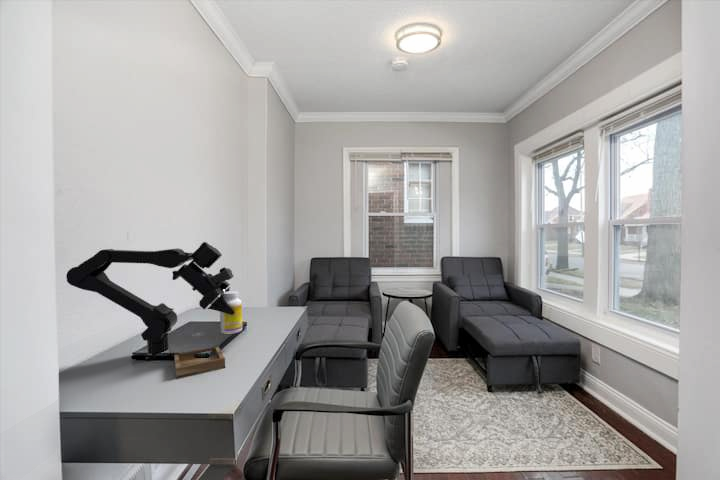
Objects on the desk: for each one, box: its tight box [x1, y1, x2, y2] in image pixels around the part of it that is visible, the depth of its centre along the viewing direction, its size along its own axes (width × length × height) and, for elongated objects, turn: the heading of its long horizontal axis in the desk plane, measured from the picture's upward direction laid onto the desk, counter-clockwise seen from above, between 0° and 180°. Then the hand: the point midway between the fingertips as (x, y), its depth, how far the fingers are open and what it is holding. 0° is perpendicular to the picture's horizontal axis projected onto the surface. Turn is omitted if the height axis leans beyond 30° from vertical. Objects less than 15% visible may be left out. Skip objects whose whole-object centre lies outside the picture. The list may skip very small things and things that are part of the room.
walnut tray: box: [173, 345, 226, 379], centre depth 94 cm, size 12×12×3 cm
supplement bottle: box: [219, 290, 243, 335], centre depth 107 cm, size 7×7×13 cm
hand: (235, 311), depth 107 cm, fingers closed on supplement bottle, 7 cm apart
